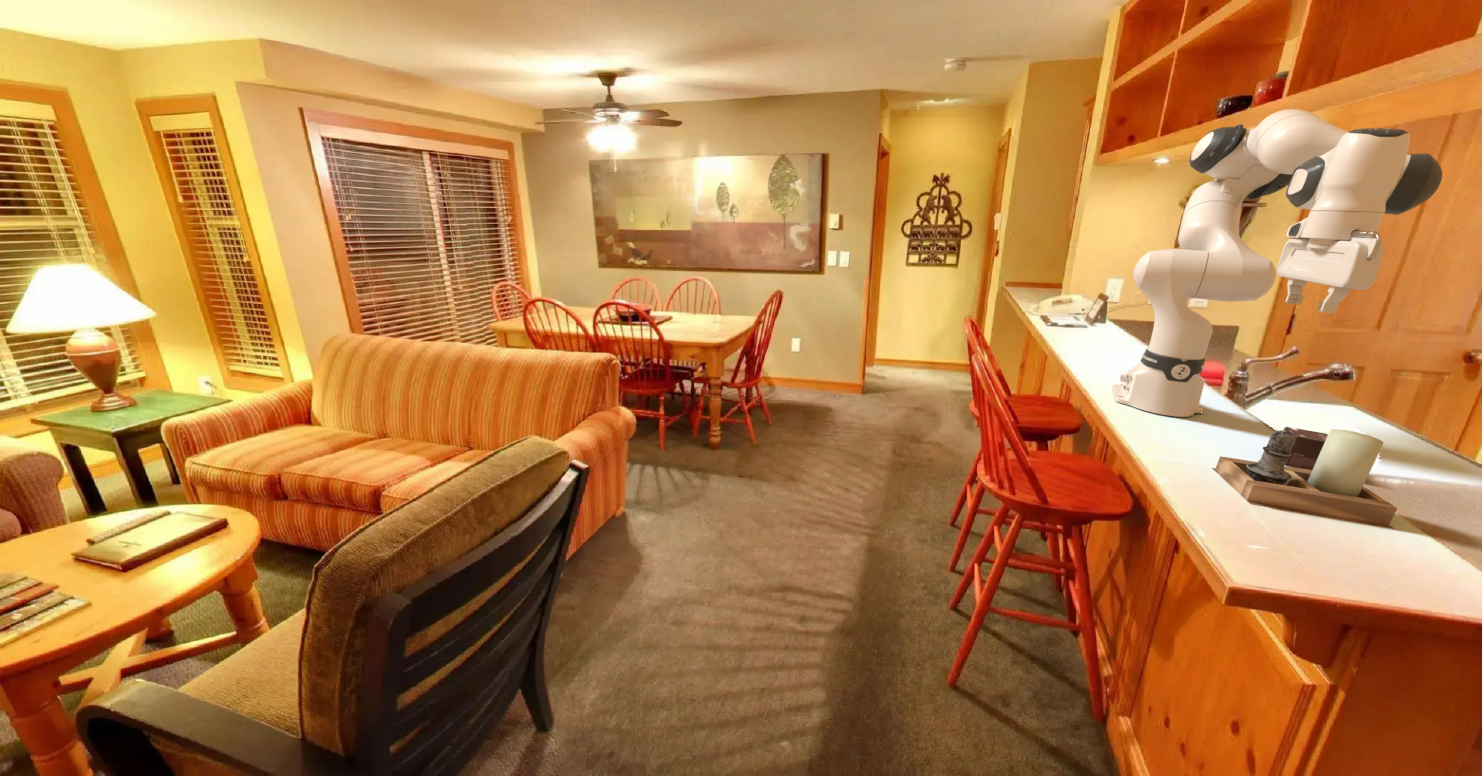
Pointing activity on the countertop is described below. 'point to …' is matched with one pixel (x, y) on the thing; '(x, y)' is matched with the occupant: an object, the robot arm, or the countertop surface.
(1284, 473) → the dark grey chess piece
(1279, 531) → the countertop surface
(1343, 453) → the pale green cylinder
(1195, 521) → the countertop surface
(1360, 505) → the divided wooden tray
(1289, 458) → the box
